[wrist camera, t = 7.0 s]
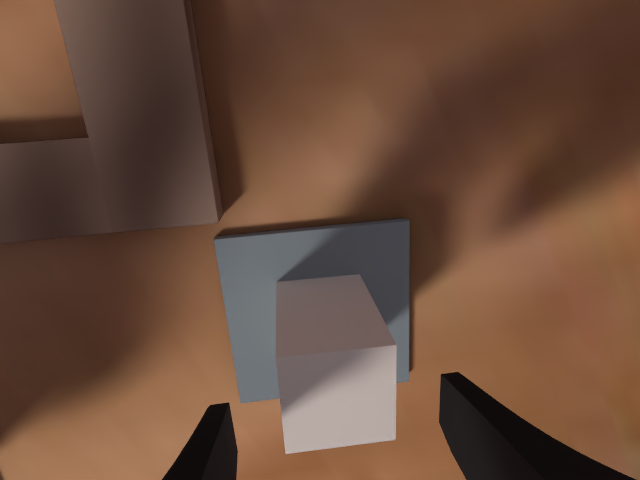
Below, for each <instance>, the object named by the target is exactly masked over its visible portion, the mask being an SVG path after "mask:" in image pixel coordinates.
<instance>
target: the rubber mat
mask: <svg viewBox="0 0 640 480" xmlns="http://www.w3.org/2000/svg"><path fill="white" fill-rule="evenodd" d="M214 244H215V250H216V256H217V262H218V268H219V274H220V280H221V286H222V292H223V299H224V305H225V311H226V317H227V323H228V329H229V335H230V341H231V347H232V353H233V359H234V365H235V371H236V377H237V384H238V390H239V396H240V402H241V403H247V402H254V401H262V400H269V399H277V398H280V395H279V385H278V375H277V366H276V282H280V281H291V280H302V279H313V278H324V277H335V276H346V275H357V274H360V276H361V278H362V280H363V281H364V283H365V285H366V287H367V289H368V291H369V293H370V295H371V297H372V299H373V301H374V303H375V304H376V306H377V308H378V310H379V312H380V314H381V316H382V318H383V320H384V322H385V324H386V326H387V327H388V329H389V331H390V333H391V335H392V337H393V339H394V341H395V343H396V345H397V360H396V383H399V382H407V381H409V285H410V220H408V219H407V218H401V219H391V220H380V221H370V222H359V223H349V224H339V225H328V226H318V227H307V228H297V229H286V230H276V231H266V232H255V233H245V234H234V235H224V236H215V238H214Z"/></svg>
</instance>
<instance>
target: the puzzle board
mask: <svg viewBox="0 0 640 480" xmlns="http://www.w3.org/2000/svg"><path fill="white" fill-rule="evenodd" d="M54 3H55V7H56V11H57V15H58V19H59V23H60V27H61V31H62V34H63V38H64V42H65V46H66V50H67V54H68V58H69V62H70V66H71V70H72V74H73V78H74V82H75V86H76V90H77V94H78V98H79V102H80V106H81V110H82V114H83V118H84V122H85V126H86V130H87V134H88V137H81V138H68V139H54V140H40V141H27V142H13V143H0V243H9V242H20V241H31V240H41V239H52V238H63V237H74V236H84V235H95V234H106V233H116V232H127V231H138V230H149V229H159V228H170V227H181V226H192V225H202V224H213V223H219V221H220V219H221V217H222V216H223V209H222V202H221V196H220V189H219V183H218V176H217V170H216V163H215V157H214V150H213V144H212V137H211V131H210V124H209V117H208V111H207V104H206V98H205V91H204V85H203V78H202V72H201V65H200V59H199V52H198V46H197V39H196V32H195V26H194V19H193V13H192V6H191V0H54Z"/></svg>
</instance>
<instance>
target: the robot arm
mask: <svg viewBox="0 0 640 480" xmlns="http://www.w3.org/2000/svg"><path fill="white" fill-rule="evenodd" d="M439 423H440V425H441V428H442V430H443V433H444V435H445V438H446V440H447V443H448V445H449V447H450V450H451V452H452V454H453V456H454V458H455V459H456V461H457V463H458V465H459V467H460V469H461V470H462V472H463V474H464V476H465V478H466V480H636V479H633V478H631V477H629V476H627V475H624V474H622V473H620V472H618V471H616V470H614V469H611V468H609V467H607V466H605V465H603V464H601V463H599V462H597V461H595V460H593V459H591V458H589V457H587V456H585V455H583V454H581V453H579V452H577V451H576V450H574V449H572V448H570V447H568V446H567V445H565V444H563V443H561V442H559V441H558V440H556V439H554V438H552V437H551V436H549V435H547V434H546V433H544V432H543V431H541V430H539V429H538V428H536V427H535V426H533V425H532V424H530V423H528V422H527V421H525V420H524V419H522V418H521V417H519V416H518V415H516V414H515V413H514V412H512V411H511V410H509V409H508V408H506V407H505V406H504V405H502V404H501V403H499V402H498V401H497V400H495V399H494V398H493V397H491V396H490V395H488V394H487V393H486V392H484V391H483V390H482V389H480V388H479V387H478V386H476V385H475V384H474V383H472V382H471V381H470V380H468V379H467V378H466V377H464V376H463V375H462V374H460V373H459V372H454V373H447V374H441V386H440V413H439ZM237 453H238V451H237V445H236V439H235V434H234V428H233V422H232V417H231V411H230V405H229V403H222V404H215V405H210V406H209V407H208V408H207V410H206V412H205V414H204V415H203V417H202V419H201V421H200V422H199V424H198V426H197V427H196V429H195V431H194V432H193V434H192V436H191V437H190V439H189V441H188V442H187V444H186V445H185V447H184V448H183V450H182V451H181V453H180V454H179V456H178V458H177V459H176V461H175V462H174V464H173V465H172V466H171V468H170V469H169V471H168V472H167V473H166V475H165V476H164V478H163V479H162V480H236V473H237Z"/></svg>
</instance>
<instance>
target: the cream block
mask: <svg viewBox="0 0 640 480" xmlns="http://www.w3.org/2000/svg"><path fill="white" fill-rule="evenodd" d="M396 360H397V345H396V343H395V341H394V339H393V337H392V335H391V333H390V331H389V329H388V327H387V326H386V324H385V322H384V320H383V318H382V316H381V314H380V312H379V310H378V308H377V306H376V304H375V303H374V301H373V299H372V297H371V295H370V293H369V291H368V289H367V287H366V285H365V283H364V281H363V280H362V278H361V276H360V274H357V275H346V276H335V277H324V278H313V279H302V280H291V281H280V282H276V366H277V375H278V385H279V395H280V404H281V414H282V424H283V433H284V443H285V453H286V454H289V453H296V452H304V451H312V450H319V449H327V448H335V447H343V446H350V445H358V444H366V443H374V442H381V441H389V440H395V437H396Z"/></svg>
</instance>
